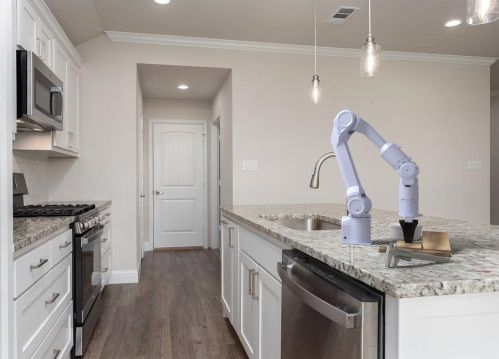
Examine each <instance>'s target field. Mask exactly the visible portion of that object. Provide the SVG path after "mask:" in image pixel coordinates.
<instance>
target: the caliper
mask: <svg viewBox="0 0 499 359" xmlns="http://www.w3.org/2000/svg"><path fill="white" fill-rule="evenodd" d="M384 256H385V260H384V264H385V267H386V268H389V269H390V268H391V267H393V268H396V267H397V266H398V265H399V262H400V260H402V261H406V262H407V261H408V262H411V261H412V259H413V260H420V261H427V262H428V261H429V262H432V263H433V262H435V263H441V264H444V263H446V264H447V263H453V262H454V260H451V258H448V257H439V256H433V255H426V254H420V253H413V251H411V250H405V249H400V248H397V244H396V243H393V242H389V245H388V246H387V250H386V253H384Z"/></svg>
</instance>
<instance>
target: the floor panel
mask: <svg viewBox="0 0 499 359" xmlns="http://www.w3.org/2000/svg"><path fill="white" fill-rule="evenodd" d="M387 247H388V246H386V245H385V246H384V245H382V246H381V245H379V247H378V253H381V254H386V250H387ZM397 248H400V249H405V250H411V251H413V253H420V254H426V255H433V256H439V257H445V258H449V256H450V254H448V252H447V250H432V249H423V248H422V249H417V248H402V247H397Z"/></svg>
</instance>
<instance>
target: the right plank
mask: <svg viewBox="0 0 499 359" xmlns="http://www.w3.org/2000/svg"><path fill="white" fill-rule="evenodd" d="M421 234H422V237H421V238H422V249H432V250H447V252H448V254H449V255H451V254H452V253H451V252H452V248H451V245H450V240H449V239H450V238H449V234H448V231H429V230H421Z"/></svg>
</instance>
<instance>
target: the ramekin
mask: <svg viewBox="0 0 499 359" xmlns="http://www.w3.org/2000/svg"><path fill="white" fill-rule="evenodd" d="M388 229H389V233H390V237H391V238H392V239H394V240H398V241H404V236H403V231H402V228H401V225H400V223H399V222H391V223H389V224H388ZM422 229H423V224H420V223H418V225H417V227H416V229H415V233H414V238H413V241H418V240H420V239H421V234H422V231H423V230H422Z"/></svg>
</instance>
